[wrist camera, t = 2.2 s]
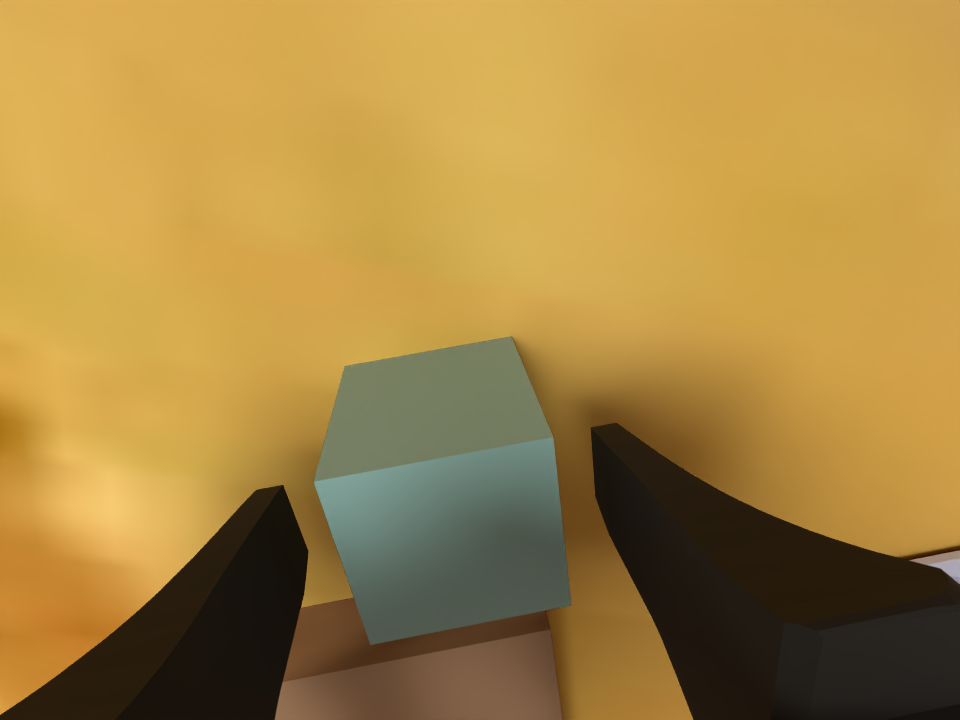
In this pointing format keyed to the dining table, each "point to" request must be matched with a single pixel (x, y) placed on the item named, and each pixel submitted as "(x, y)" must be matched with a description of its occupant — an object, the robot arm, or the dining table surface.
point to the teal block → (443, 491)
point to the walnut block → (419, 671)
